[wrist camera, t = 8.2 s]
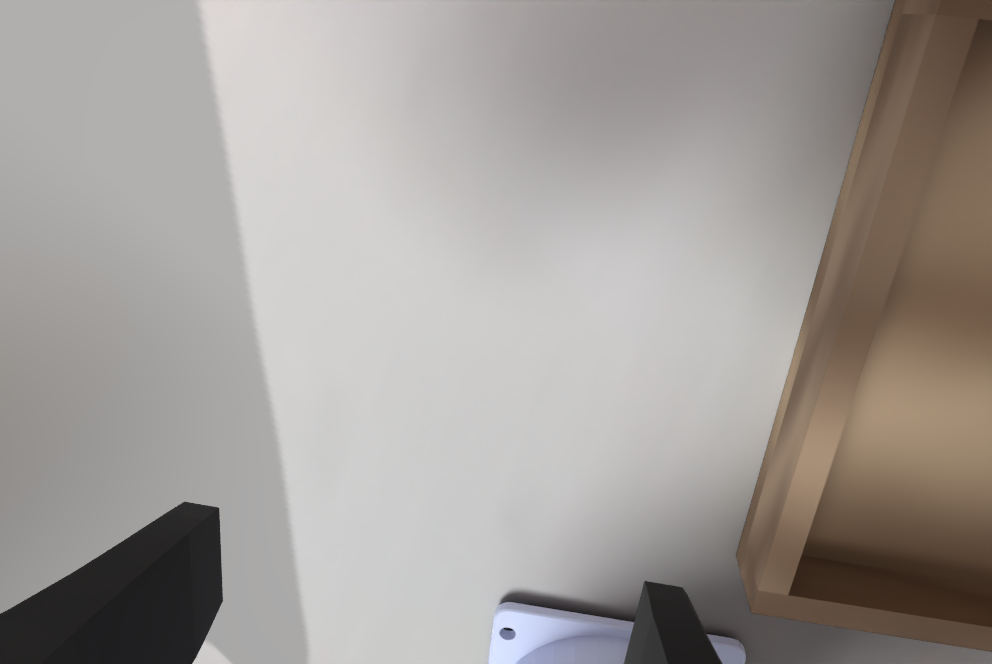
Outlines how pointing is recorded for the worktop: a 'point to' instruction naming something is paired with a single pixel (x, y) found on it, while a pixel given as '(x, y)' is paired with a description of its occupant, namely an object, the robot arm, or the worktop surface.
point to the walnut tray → (894, 364)
